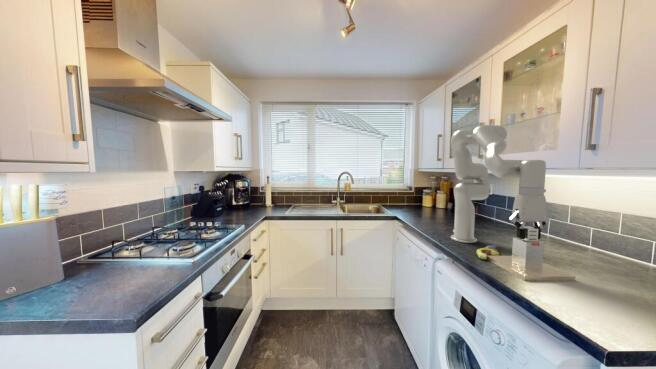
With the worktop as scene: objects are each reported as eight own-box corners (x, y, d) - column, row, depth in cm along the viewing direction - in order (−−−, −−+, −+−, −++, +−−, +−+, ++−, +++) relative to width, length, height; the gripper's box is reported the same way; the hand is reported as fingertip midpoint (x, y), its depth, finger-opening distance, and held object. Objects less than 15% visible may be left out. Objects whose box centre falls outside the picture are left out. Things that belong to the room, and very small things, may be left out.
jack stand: (486, 259, 104) (487, 233, 103) (527, 259, 104) (529, 233, 104) (524, 280, 84) (526, 248, 83) (575, 280, 84) (577, 248, 84)
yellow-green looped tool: (489, 245, 122) (471, 257, 106) (489, 240, 122) (471, 251, 106) (507, 249, 117) (491, 263, 100) (508, 244, 116) (492, 257, 100)
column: (517, 262, 96) (519, 226, 95) (527, 262, 96) (529, 226, 95) (525, 266, 92) (528, 229, 91) (536, 266, 92) (539, 229, 91)
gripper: (544, 191, 96) (541, 235, 97) (501, 191, 96) (499, 235, 97) (562, 193, 89) (559, 241, 90) (516, 193, 88) (513, 241, 90)
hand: (528, 237), depth 93 cm, fingers open, 5 cm apart
